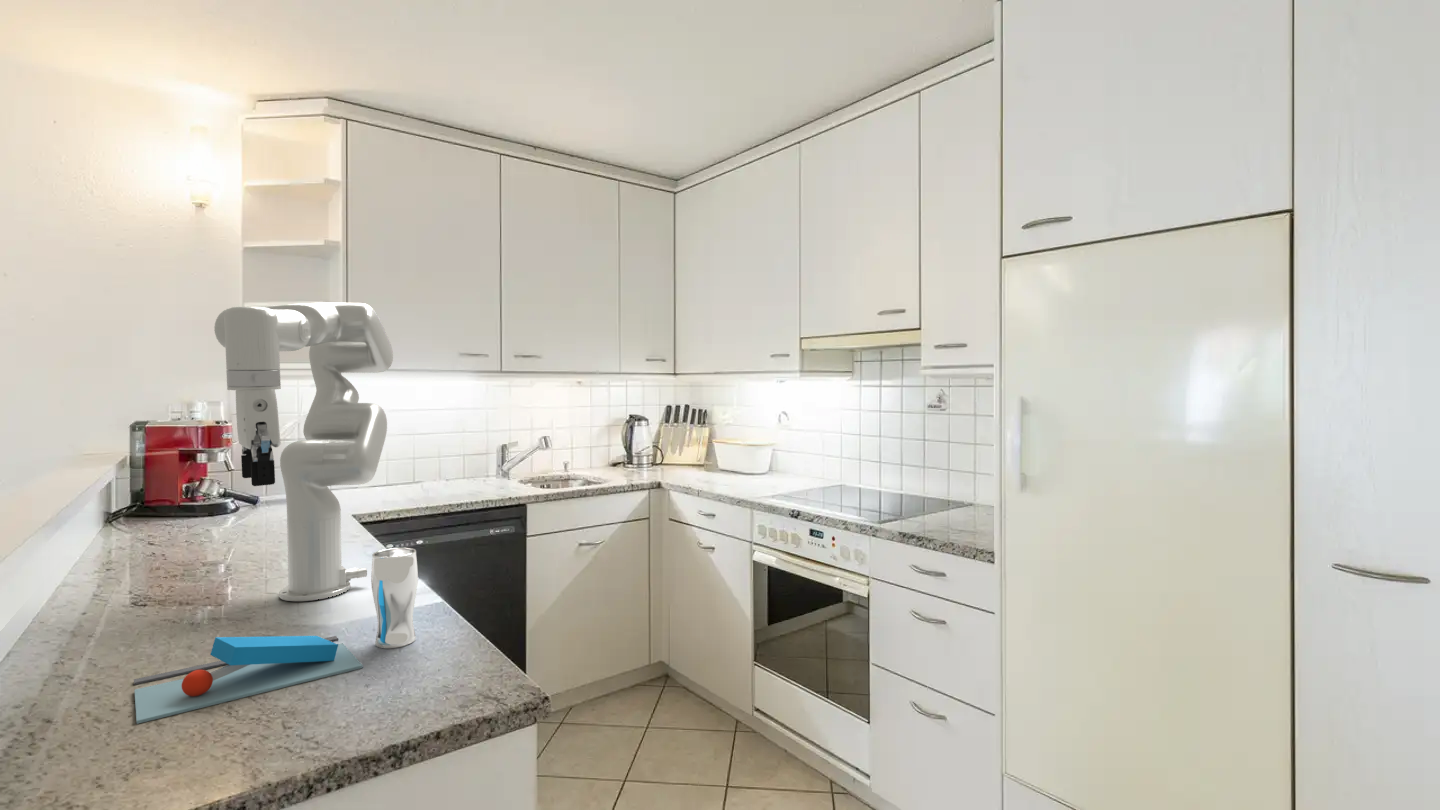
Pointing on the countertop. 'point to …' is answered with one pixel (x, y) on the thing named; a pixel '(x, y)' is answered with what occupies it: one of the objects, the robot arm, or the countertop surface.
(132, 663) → the countertop surface
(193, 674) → the lever
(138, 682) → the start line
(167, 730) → the countertop surface
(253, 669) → the mat
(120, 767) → the countertop surface
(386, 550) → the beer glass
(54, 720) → the countertop surface
